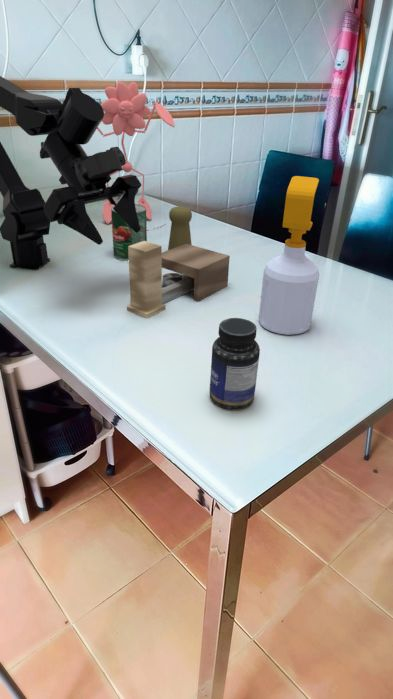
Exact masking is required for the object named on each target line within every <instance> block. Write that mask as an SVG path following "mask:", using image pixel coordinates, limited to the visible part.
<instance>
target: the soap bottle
mask: <svg viewBox="0 0 393 699" xmlns="http://www.w3.org/2000/svg"><path fill="white" fill-rule="evenodd" d="M319 182H320V179H319V178H318V177H310V176H303V175H302V176H301V175H294V176H292V177H291V179H290V182H289V185H288V187H287V190H286V195H285V201H284V202H285V203H284V209H283V210H284V211H283V217H282V218H283V219H282V220H283V221H282V228H287V229H288V232H289V233H290V234H291V235H290V238H287V239H286V240H285V241H284V242H285V244H284V249H283V250H284V251H283V253H282V254H280V255H277V256H275V257H273V258H271V259H270V260H268V261H267V263H266V265H265V267H264V269H263V276H262V286H261V296H260V301H259V302H260V303H259V312H258V322H259V324H260V326H261V327H262V328H264V329H266V330H268V331H270V332H272V333H276V334H278V335H287V336H290V335H299V334H303V333H306V332H307V331H308V330H309V329H310V328H311V324H312V318H313V314H314V313H313V312H314V308H315V307H314V306H315V302H316V296H317V289H318V284H319V280H320V272H319V268H318V267H317V265H316V264H315V263H314V261H312V260H311V259H310V258H308V257H307V256H306V255H305V253H306V246H307V242H306V241H305V240H304V239H302V236H303V235H304V234H307V231H311V228H312V226H313V221H312V220H311V219H312V214H313V207H314V200H315V197H316V196H315V195H316V192H317V188H318V186H319Z"/></svg>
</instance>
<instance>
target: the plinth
mask: <svg viewBox="0 0 393 699" xmlns="http://www.w3.org/2000/svg"><path fill="white" fill-rule="evenodd" d="M230 257H231V256H230V255H228V254H224V253H221V252H217V251H214V250H210V249H208V248H207V249H206V248H204V247H200V246H196V245H190V244H184V245H181V246H179V247H176V248H173V249H171V250H168V249H167V250H165V251H162V269H166V270H169V271H170V272H173V273H177V274H180V275H182V276H183V275H184V276H186V277H192V278H194V289H193V301H194V302H200V301H202V300H204V299H206V298H208V297H210V296H211V295H213V294H215V293H217V292H219V291H221V290H222V289H224V288H225V289H226V287H228V284H229V272H230V271H229V268H230Z"/></svg>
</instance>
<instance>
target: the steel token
mask: <svg viewBox="0 0 393 699" xmlns="http://www.w3.org/2000/svg"><path fill="white" fill-rule="evenodd" d="M182 279H183V274H180V273H177V272H169V273H165V274H163V275H162V288H165V287H167V286H169V285H171V284H174V283H176V282H178V281H180V280H182Z"/></svg>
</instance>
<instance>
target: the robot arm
mask: <svg viewBox="0 0 393 699" xmlns="http://www.w3.org/2000/svg"><path fill="white" fill-rule="evenodd" d="M101 105H102V104H100V102H98V101H97V100H96V99H94V98H93V97H92V96H90V95H89V94H87V93H84V92H82V89H81V88H80V87H68V90H67V92H66V94H65V98H64V101H62V102H61V101H60V100H59V99H57V98H55V97H51V96H47V95H42V94H36V93H32V92H29V91H27V90H25V89H24V88H21V87H20V86H18V85H17V84H15V83H13V82H11V81H10V80H8V79H6V78H5V77H3V76H1V75H0V108H2V109H3V110H5V111H7V112H8V113H10V114H12V115H13V116H14V119H15V124H17V126H19V128H21V130H23V131H24V132H25V133H26V134H27V135H28V136H31V137H34V136H35V137H36V136H37V137H38V136H46V138H45V140H44V141H41V142H40V150H39V158H40V159H50V160H51V161H52V163H53V165H54V166H55V167H56V170H57V171H59V174H60V177H59V178H58V181H59V183H60V184H61V185H62V186H63V185H67V186H63V187H59V188H53V190H52V191H51V193H50V195H49V197H48V198H47V200H46V201H45V200H44V198H43V196H42V193H41V191H40V190H39V189H38V188H34V189H30V188H28V187H27V186H26V185H25V183H24V182H23V180H22V178H21V176H20V175H19V173H18V171H17V169H16V168H15V164H14V163H13V161H12V160H11V157H10V156H9V154H8V153H7V151H6V149H5V147H4V146H3V143H2V142H1V141H0V194H1V195H2V214H3V216H4V220H3V221H2V223H1V225H0V236H1V238H2V239H3V240H5V241H8V242H9V244H10V250H11V257H12V261H13V262H11V263H10V264H9V267H10V268H12V269H23V270H32V271H38V270H40V269H41V268H42V267H44V266H45V265H46V264H48V263H49V262H51V258H49V256H48V249H47V243H46V242H44V236H48V235H50V228H51V223H54V222H57V224H58V225H64V226H66V227H68V228H69V229H72V230H73V231H76V232H77V233H79V234H81V235H82V236H83V237H85V238H87V239H89V240H90V241H92V242H93V243H96V244H97V245H99V246H100V245H102V243H104V240H103V238H102V236H101V234H100V232H99V231H98V228H96V226H95V224H94V222H93V221H92V218H91V217H90V215H89V214H88V212H87V208H86V204H87V205H88V204H92V203H95V202H100V201H104V200H109V202H110V203H111V204H112V205H114V206H115V207H114V208H113V209H114V210H115V212H116V213H117V214H118V215H119V216H120V217H121V218H122V219H123V220H124V221H125V222H126V223H127V224H128V225H129V226H130V228H131V229H133V230H134V231H135V232H136V233H138V232H139V231H140V230H141V229H140V225H139V220H138V216H137V212H136V208H135V204H136V202H135V199H136V195H137V194H138V193H139V189H140V188H141V187H142V183H141V181H140V179H139V178H138V177H137V175H136V174H126V175H122V176H121V175H120V176H117V178H116V179H115V180H114V182H112V184H111V185H110V186H109V187H107V183H108V184H109V183H110V181H111V180H112V177H111V176H110V174H112V173H114V172H116V171H120V172H122V171H123V170H122V166H123V165H125V163H126V158H125V155H124V151H122V150H121V149H120V147H119V146H112V147H110V148H109V149H106V150H105V151H99V152H96V153H94V154H92V155H88V154H87V153H86V151H85V150H84V148H83V146H82V145H84V146H85V145H86V144H88V143H89V142H90V141H91V139H92V137H93V135H94V134H95V132H96V131H97V127H98V128H99V126H100V124H101V123H102V122H103V117H104V114H105V111H103V108H102V106H101ZM121 170H122V171H121Z"/></svg>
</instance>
